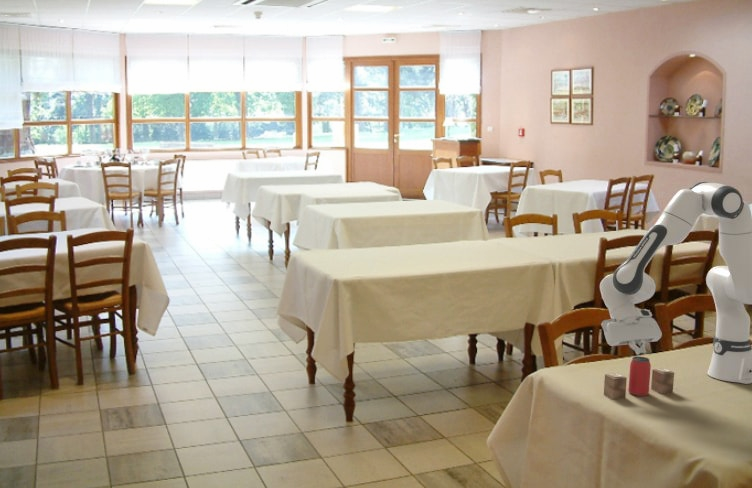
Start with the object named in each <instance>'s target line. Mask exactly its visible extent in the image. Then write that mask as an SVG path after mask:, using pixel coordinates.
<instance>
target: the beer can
mask: <svg viewBox="0 0 752 488" xmlns="http://www.w3.org/2000/svg"><path fill="white" fill-rule="evenodd" d="M629 365H630V366H629V378H628V389H627V390H628V392H629V394H630V395H634V396H638V397H645V396H647V395H649V394H650V384H651V383H650V382H651V381H650V380H651V370H652V369H651V368H652V367H651V362H650V358H648V357H645V356H633V357H632V358H631V361H630V364H629Z"/></svg>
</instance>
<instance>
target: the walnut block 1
mask: <svg viewBox="0 0 752 488" xmlns="http://www.w3.org/2000/svg"><path fill="white" fill-rule="evenodd" d="M626 391H627V377H626V376H624V375H623V374H621V373H619V372H616V373H606V374H604V384H603V395H604V396H606V397H607V398H609V399H611V400H618V399H619V400H621V399H626V394H627V392H626Z"/></svg>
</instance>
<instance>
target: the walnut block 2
mask: <svg viewBox="0 0 752 488" xmlns="http://www.w3.org/2000/svg"><path fill="white" fill-rule="evenodd" d="M651 374H652V375H651V383H650V384H651V386H650V389H651V390H652V391H654V392H656V393H658V394H659V395H662V393H663V394H670V393H673V392H674V381H675V372H674V371H672V370H670V369H667V368H666V367H663V368H662V367H661V368H654V369H651Z"/></svg>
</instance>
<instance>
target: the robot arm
mask: <svg viewBox="0 0 752 488" xmlns="http://www.w3.org/2000/svg"><path fill="white" fill-rule="evenodd" d="M703 214H704V215H707V216H715V217H716V218H717V219H718V248H719V249H718V251H719V255H720V257H722V259H723V260H724V262H725V265H716V266H714V267H712V268H710V270H708V272H707V274H706V277H705V281H706V282H705V283H706V286H707V288H708V289H709V290H710V293H711V296H712V298H713V301H714V304H715V310H716V311H715V312H716V325H715V326H716V327H715V335H714V336H713V343H712V344H713V345H712V346H713V349H712V350H713V351H712V355H711V360H710V363H709V367H708V370H707V375H708V376H709V377H711V378H714V379H716V380H719V381H720V380H721V381H724V382H725V381H726V382H731V383H732V382H733V383H738V384H739V383H740V384H744V385H745V384H746V385H748V384H752V339H750V329H751V328H750V327H751V317H750V314H749V313H748V311H747V310H746V308H745V305H752V210H751V207H750V204H749V203H748V201H745V200H744V199H743V196H742V194H741V193H740V191H739V190H738V189H737V188H736V187H734V186H732V185H726V184H723V183H719V182H718V183H717V182H707V181H699V182H697V183H694V184H693V185H691V186H690V187H689V188H683V189H679V190H678V191H677V192H676V193H675V194H674V195H673V197H672V198H671V199H670V200H669V202H668V203H667V204H666V206H665V208H664V209H663V211H662V213H661V214H660V216H658V217H659V218H658V219H657V220H656V222H655V223H654V224H653V226H651V227H650V228H649V229H648V230H647V231H646V233H645V234H644V235H643V237H642V238H641V240H640V241H639V243H638V244H637V246H636V247H635V248H634V250H633V251H632V253H631V254H630V255H629V256H628V258H627V259H626V260H624V262H623V263H621V264H620V265H619V266H618V267H617V268H616V269H615V270H614V272H613V273H610V274H607V275H606V276H604V278H602V280H601V281H600V283H599V291H600V294H601V298H602V301H603V302H604V304H605V306H606V308H607V309H608V312H609V313H608V314H609V316H610V318H609V319H604V320H603V321H602V322H601V323H600V325H601V328H602V330H603V332H604V333H603V334H604V337H605V340H606V343H607V345H609V346H611V347H615V346H616V347H617V346H625V345H626V346H627V345H628V346H629V348H630V349H632V350H633V351H634V352H635V354H636V355H637V356H638V355H639V356H640V355H646V353H647V349H646V343H651V342H652V343H653V342H658V341H659V340H660V339H661V338H662V335H663V333H662V330H661V328H660V326H659V324H658V323H657V320H656V319H655V318H653V317H652V316H653V314H652V312H651V311H650V310H647V309H642V308H639V307H636V305H637V304H640V303H643V302H646V301H648V300H650V299H651V298H652V297H653V296H654V295H655V293H656V290H657V284H656V282H655V281H656V280H654V278H653V277H651V276H650V275H649V274H648V273H646V272H645V269H646V268H647V266H648V264H649V263H650V261H651V260H653V258H654V256H655V254H656V253H657V252H658V250H660V249H661V248H663V247H666V246H674V245H679V244H682V242H684V240H685V239H686V238H687V237H688V236H689V234H690V232H691V231H692V230H693V227H694V226H695V224H696V222H697V221H698V220H697V219H699V217H700V216H701V215H703ZM637 345H638V346H637ZM639 346H640V347H639Z"/></svg>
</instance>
